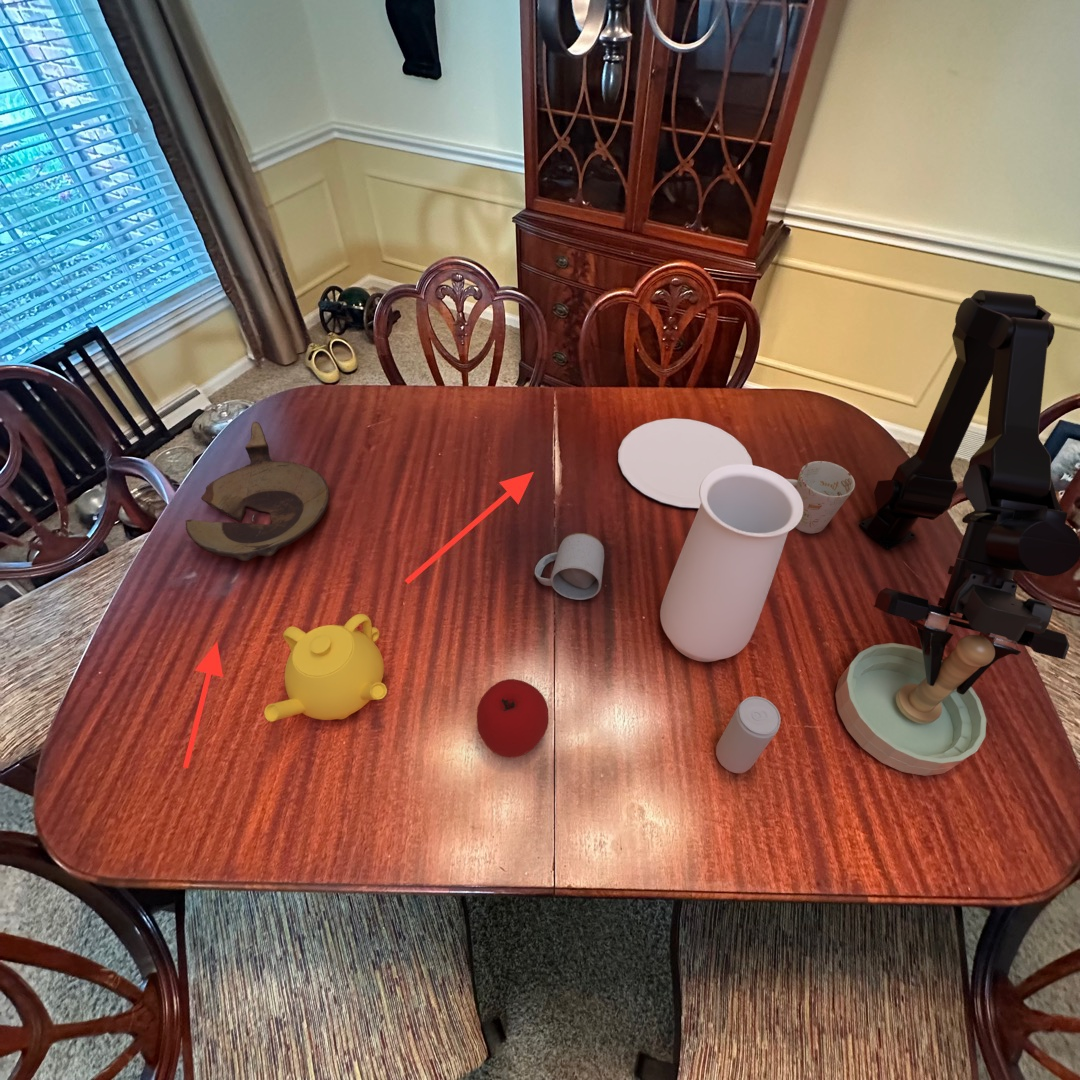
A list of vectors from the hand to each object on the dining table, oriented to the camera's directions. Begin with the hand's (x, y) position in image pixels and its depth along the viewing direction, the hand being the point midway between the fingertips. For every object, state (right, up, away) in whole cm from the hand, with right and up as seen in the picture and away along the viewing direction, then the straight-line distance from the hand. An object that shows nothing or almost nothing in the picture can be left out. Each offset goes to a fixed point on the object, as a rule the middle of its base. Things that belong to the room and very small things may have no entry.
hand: (944, 689), depth 73 cm
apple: (-52, -7, +6) cm, 53 cm away
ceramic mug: (-44, +12, +22) cm, 51 cm away
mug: (-5, +22, +31) cm, 38 cm away
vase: (-25, +4, +16) cm, 30 cm away
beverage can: (-24, -10, +4) cm, 26 cm away
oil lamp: (-95, +23, +32) cm, 103 cm away
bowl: (-1, -5, +7) cm, 9 cm away
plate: (-22, +32, +40) cm, 56 cm away
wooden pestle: (0, -4, +6) cm, 7 cm away
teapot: (-76, -3, +10) cm, 77 cm away
